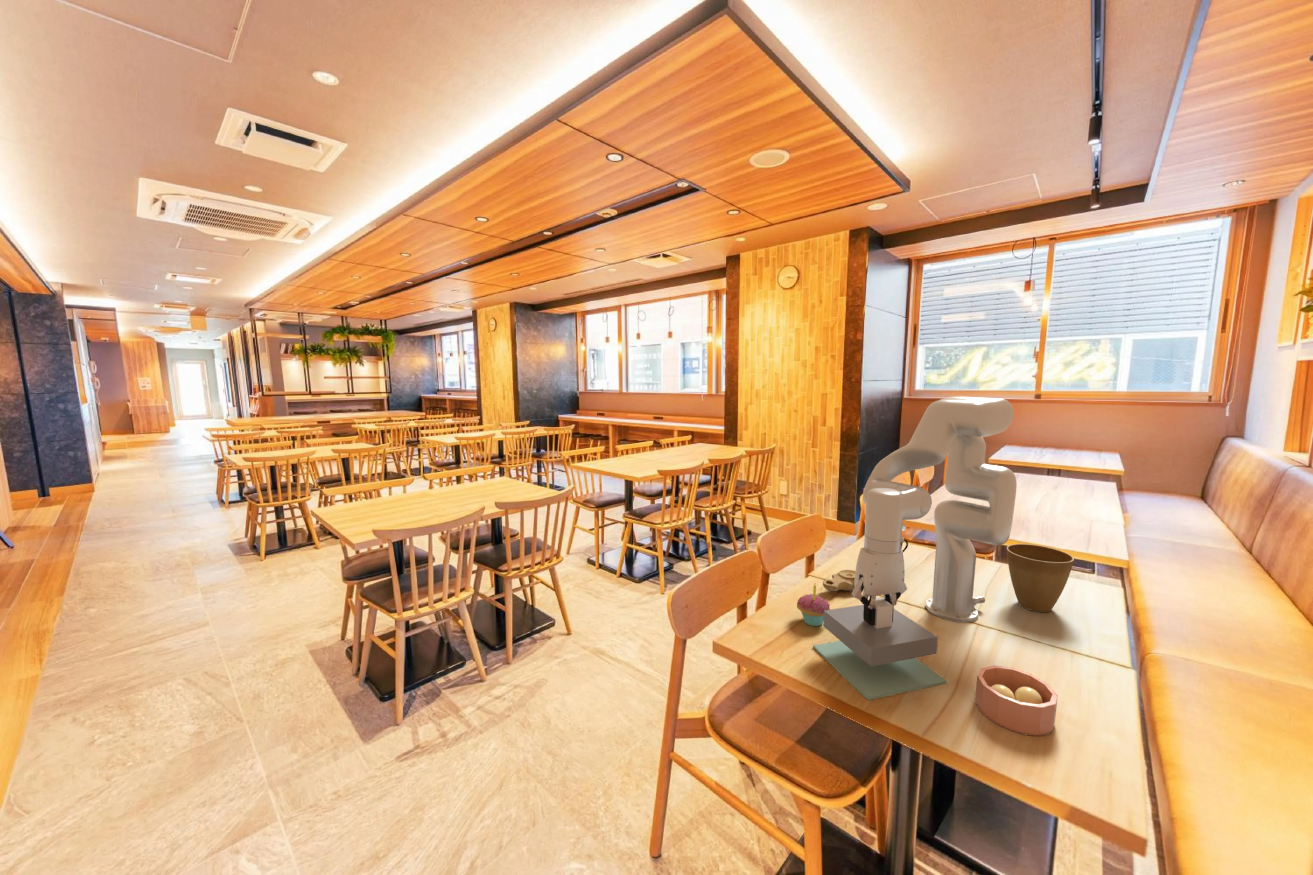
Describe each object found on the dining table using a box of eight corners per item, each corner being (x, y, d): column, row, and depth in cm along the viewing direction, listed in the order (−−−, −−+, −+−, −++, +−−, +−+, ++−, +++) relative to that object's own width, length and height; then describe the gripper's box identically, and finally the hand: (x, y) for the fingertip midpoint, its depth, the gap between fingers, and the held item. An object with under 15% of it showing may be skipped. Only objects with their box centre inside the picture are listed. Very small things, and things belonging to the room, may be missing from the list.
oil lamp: (820, 594, 148) (820, 579, 147) (832, 577, 160) (833, 563, 159) (857, 603, 142) (857, 587, 141) (867, 585, 154) (868, 570, 153)
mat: (881, 635, 125) (882, 633, 125) (946, 683, 106) (947, 680, 106) (812, 647, 120) (813, 645, 120) (868, 700, 101) (868, 697, 101)
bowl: (1008, 687, 104) (1010, 661, 103) (1070, 728, 92) (1073, 699, 91) (961, 698, 101) (963, 671, 100) (1019, 741, 89) (1022, 711, 88)
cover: (882, 616, 122) (884, 582, 121) (936, 653, 106) (939, 614, 105) (823, 626, 118) (824, 590, 116) (870, 666, 102) (872, 625, 100)
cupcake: (831, 631, 127) (833, 587, 125) (797, 628, 129) (799, 585, 127) (827, 615, 135) (828, 573, 134) (795, 612, 137) (796, 571, 135)
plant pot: (1079, 611, 136) (1085, 556, 134) (1049, 624, 129) (1055, 566, 127) (1020, 590, 149) (1024, 539, 147) (990, 600, 143) (995, 548, 140)
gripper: (901, 535, 115) (896, 608, 117) (839, 541, 110) (835, 618, 113) (926, 546, 107) (921, 624, 110) (861, 553, 103) (857, 634, 106)
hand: (877, 620), depth 111 cm, fingers closed on cover, 4 cm apart
